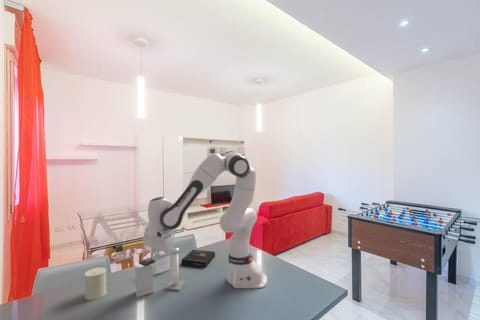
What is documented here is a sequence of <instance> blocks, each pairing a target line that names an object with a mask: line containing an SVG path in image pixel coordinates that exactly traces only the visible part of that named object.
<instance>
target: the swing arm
mask: <svg viewBox="0 0 480 320" xmlns="http://www.w3.org/2000/svg"><path fill="white" fill-rule="evenodd" d="M177 253H178V254H179V253H180V247H178V246H174V248H173V251H172V252H169V253H162V254H160V255H157V256H155V257H153V256H152V257H147V258H145V259H142V260H140V261H138V263H139V264H141V265H143V266H145V267H146V266H148V265H151V264H153V263H155V261H157V260H159V259H162V258H164V257H167V256H169V255H170V256H172V255H173V254H177Z"/></svg>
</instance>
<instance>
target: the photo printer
mask: <svg viewBox="0 0 480 320" xmlns="http://www.w3.org/2000/svg"><path fill="white" fill-rule="evenodd" d="M162 253H165V252H161V254H162ZM152 257H155V254H154V253H153V254H152ZM170 259H171V255H169V256H167V257H164V258H162V259H159V260H157V261H155V263H153V276H156V275H159V274H161V273H165V272H167V271H169V270H170V268H171V267H170V266H171V265H170V263H171V261H170Z"/></svg>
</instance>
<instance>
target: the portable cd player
mask: <svg viewBox="0 0 480 320" xmlns="http://www.w3.org/2000/svg"><path fill="white" fill-rule="evenodd" d="M214 258H216V253H215V251H211V250H210V251H209V250H201V249H200V250H199V249H191V251H190V252H188V253H187V254H186V255H185V256H184V257H183V258H182V259H181V266H184V267H194V268H202V269H203V268H204V269H207V267H208V266H209V264H211V262H212V261H213V260H214Z"/></svg>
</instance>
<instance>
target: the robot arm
mask: <svg viewBox="0 0 480 320" xmlns="http://www.w3.org/2000/svg"><path fill="white" fill-rule="evenodd" d="M224 172H228V173H230V174H232V175H233V176H235V183H234V187H233V188H234V189H233V193H232V198H231V201H230V203H229V205H228V207H227V208H226V210H225V212H223V214H222V215H220V218H219V227H220V229H221V230H222V231H223V232H224V233H232V235H231V236H230V239H229V240H228V241H229V242H228V243H229V250H228V251H229V253H228V273H227V276H226V281H227V283H229V284H230V285H232V287H233V288H234V289H264V287H266V285H267V283H268V276H267V274H266V273H264V272H263V269H262V266H261V265H260V264H259V263H257V262H256V261H255V260H253V259H254V257H253V256H254V254H253V253H252V254H251V253H250V237H251V234H252V230H253V227H254V225H255V224H256V222H257V220H258V215H257V212H256V210H255V209H254V208H252V207H250V205H251V204H252V203H253V199H254V195H255V189H256V180H257V172H256V170H255V169H254V167H252V166H250V163H249V160H248V159H247V158H246V157H245V156H244V155H243V154H241V153H239V152H236V151H232V150H230V151H226V152H224V153H222V154H219V153H216V152H213V153H211V154H209V155H208V156H207V157H206V158H204V160H203V161H202V162H201V163H200V164H199V166H198V167H197V168H196V170H195V171H194V173H193V174H192V176H191V177H190V181H189V182H188V185H187V186H186V188H185V190H184V191H183V192H182V193H181V194H180V196H179V197H178V199H177V200H175V201H172V200H169V199H168V198H166V197H165V196H159V197H155V198H153V199H151V200H149V201H148V202H149V203H148V204H147V205H148V207H147V208H148V209H147V218H148V223H147V227H146V228H145V229H144V232H143V237H142V243H143V245H144V246H147V247H149V248H151V249H152V251H153V254H155V256H157V255H160V254H161V252H165V253H169V252H172V251H173V248H174V247H175V246H174V244H175V243H174V236H173V235H174V230H175V229H178V228H179V226H181V224H182V222H183V219H184V218H185V216H186V212H187V210H188V209H189V207H190V206H191V205H192V203H193V202H194V201H195V200H196V199H197V197H199V195H202V193H203V192H205V191H206V190H207V189H209V187H211V186H212V185H213V184H214V183H215V181H216V180H217V179H218V178H219V176H220V175H221V174H222V173H224Z"/></svg>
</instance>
